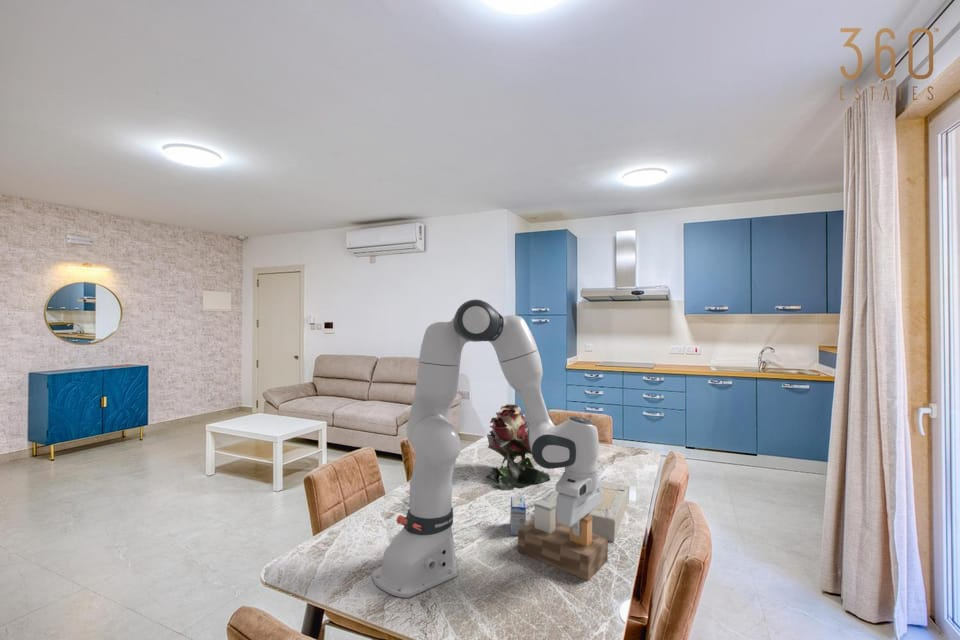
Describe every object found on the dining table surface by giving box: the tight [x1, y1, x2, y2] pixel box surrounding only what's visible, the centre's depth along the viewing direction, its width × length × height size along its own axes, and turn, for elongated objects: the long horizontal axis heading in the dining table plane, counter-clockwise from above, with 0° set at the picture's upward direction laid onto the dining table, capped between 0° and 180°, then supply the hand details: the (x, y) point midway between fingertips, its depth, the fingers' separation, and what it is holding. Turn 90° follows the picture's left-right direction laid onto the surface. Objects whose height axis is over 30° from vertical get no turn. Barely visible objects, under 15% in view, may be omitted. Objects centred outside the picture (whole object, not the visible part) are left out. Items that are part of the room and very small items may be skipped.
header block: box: [517, 519, 609, 582], centre depth 119 cm, size 12×21×6 cm, turn 51°
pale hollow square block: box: [543, 480, 630, 543], centre depth 146 cm, size 23×8×32 cm
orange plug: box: [570, 515, 593, 547], centre depth 116 cm, size 3×5×10 cm, turn 51°
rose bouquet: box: [485, 403, 551, 491], centre depth 182 cm, size 26×29×30 cm
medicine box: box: [509, 496, 527, 536], centre depth 134 cm, size 8×4×9 cm, turn 178°
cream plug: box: [533, 499, 556, 534], centre depth 123 cm, size 3×5×10 cm, turn 51°
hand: (580, 531), depth 116 cm, fingers closed on orange plug, 3 cm apart
